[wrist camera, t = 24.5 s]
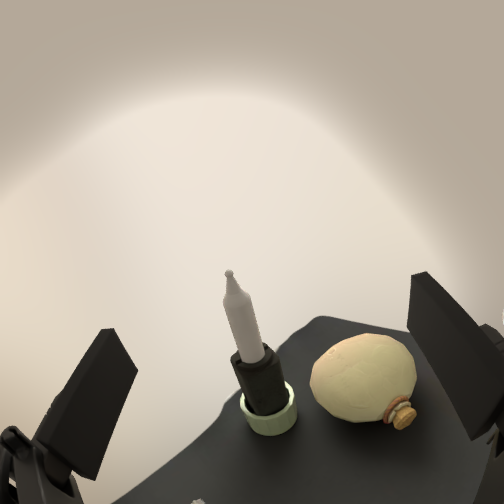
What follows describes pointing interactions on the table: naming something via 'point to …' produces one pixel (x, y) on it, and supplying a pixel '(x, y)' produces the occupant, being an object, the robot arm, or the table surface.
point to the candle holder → (272, 417)
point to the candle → (253, 355)
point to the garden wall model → (198, 502)
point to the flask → (366, 380)
